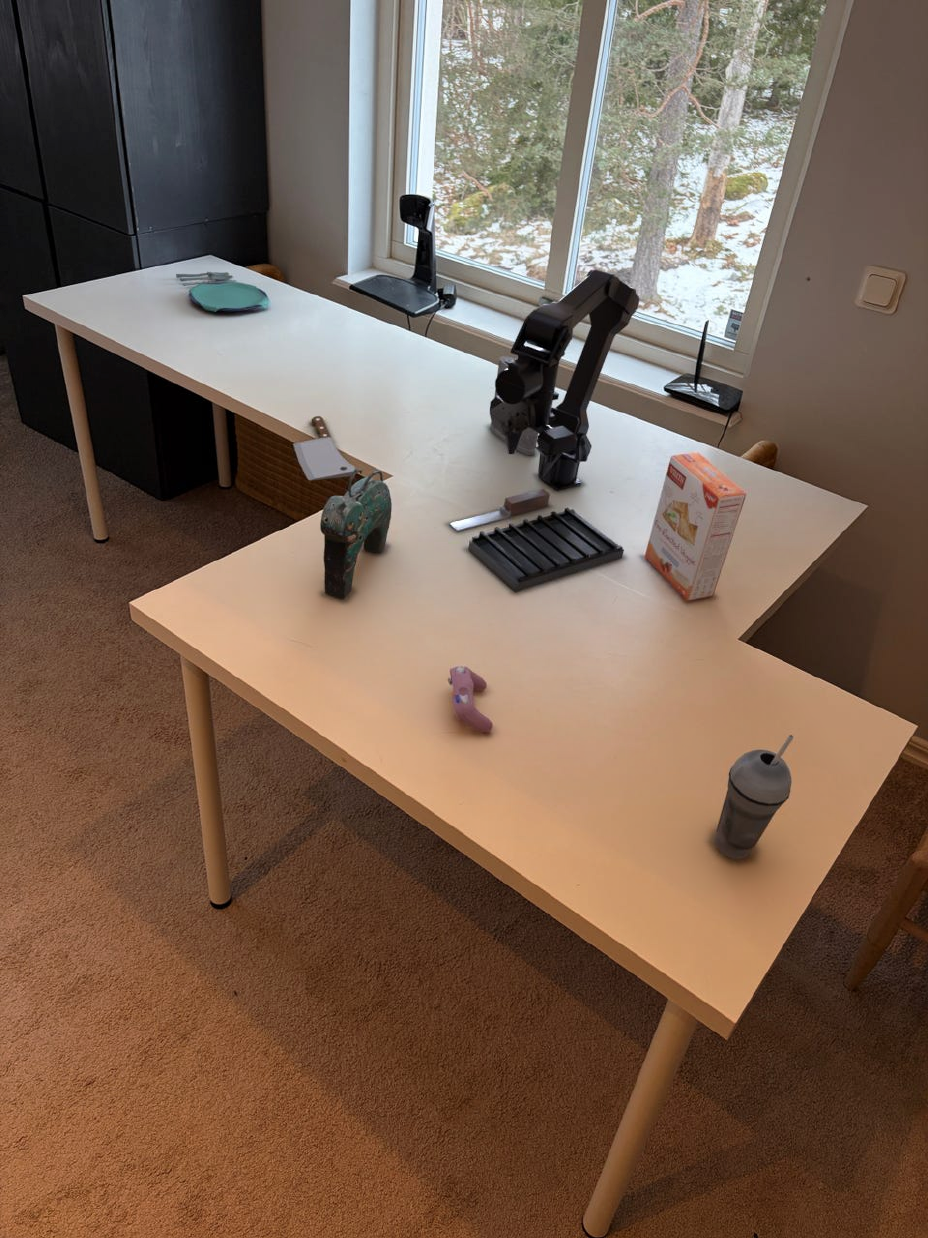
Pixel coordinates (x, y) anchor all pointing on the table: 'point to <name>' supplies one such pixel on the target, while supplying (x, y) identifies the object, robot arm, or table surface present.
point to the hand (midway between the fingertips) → (525, 465)
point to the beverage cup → (752, 800)
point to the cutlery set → (224, 293)
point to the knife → (507, 509)
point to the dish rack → (543, 549)
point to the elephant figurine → (353, 529)
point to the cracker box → (694, 525)
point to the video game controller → (468, 698)
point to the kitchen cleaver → (322, 455)
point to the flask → (527, 436)
